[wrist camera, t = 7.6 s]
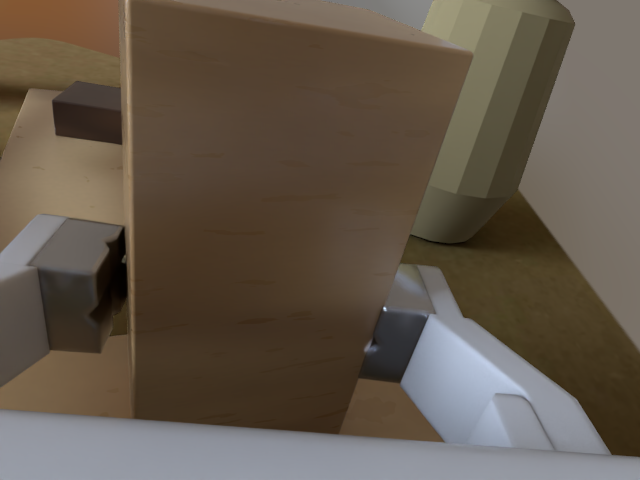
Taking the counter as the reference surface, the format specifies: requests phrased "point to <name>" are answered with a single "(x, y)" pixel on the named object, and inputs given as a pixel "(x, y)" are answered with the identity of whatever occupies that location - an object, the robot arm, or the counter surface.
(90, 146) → the board
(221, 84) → the brush
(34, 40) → the counter surface
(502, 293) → the counter surface
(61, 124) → the chip
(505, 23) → the squeeze bottle
